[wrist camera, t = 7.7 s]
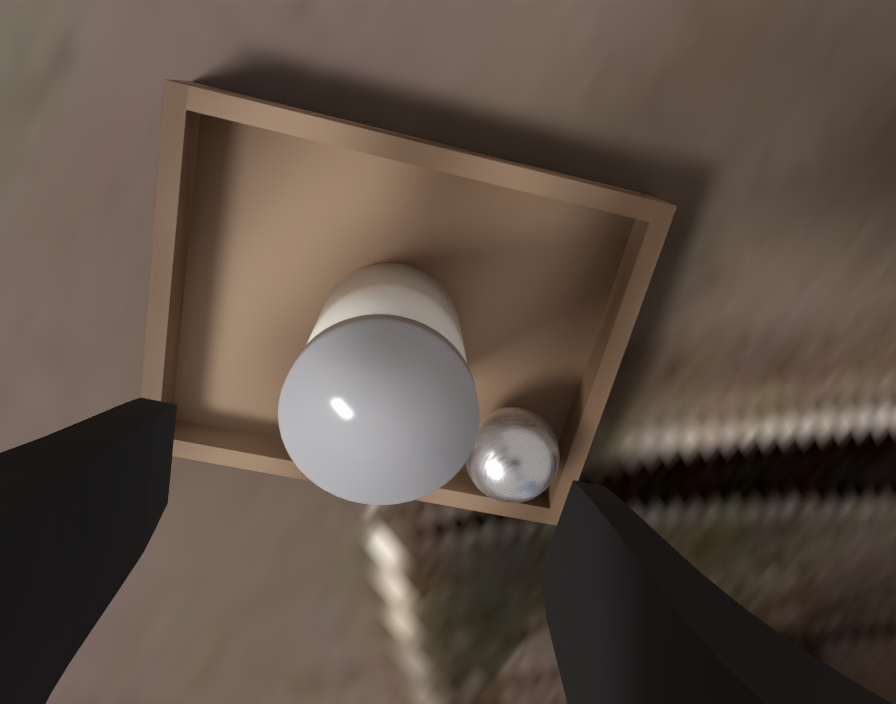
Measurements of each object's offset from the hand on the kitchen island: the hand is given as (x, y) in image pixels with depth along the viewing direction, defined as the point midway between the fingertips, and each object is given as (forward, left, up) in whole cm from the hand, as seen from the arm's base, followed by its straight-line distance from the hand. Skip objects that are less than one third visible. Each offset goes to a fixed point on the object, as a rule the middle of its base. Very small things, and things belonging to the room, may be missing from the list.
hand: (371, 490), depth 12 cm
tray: (0, 0, -10) cm, 10 cm away
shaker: (0, 0, -9) cm, 9 cm away
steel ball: (-4, +3, -8) cm, 9 cm away
